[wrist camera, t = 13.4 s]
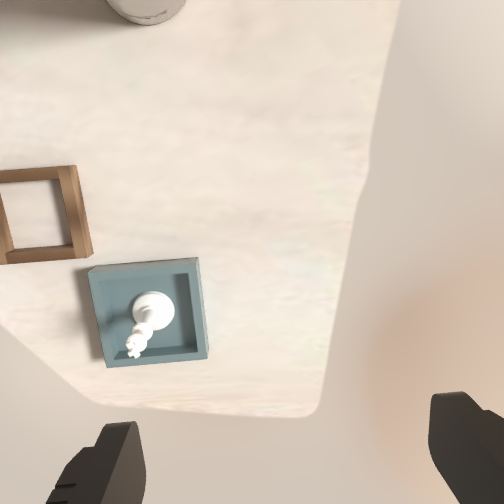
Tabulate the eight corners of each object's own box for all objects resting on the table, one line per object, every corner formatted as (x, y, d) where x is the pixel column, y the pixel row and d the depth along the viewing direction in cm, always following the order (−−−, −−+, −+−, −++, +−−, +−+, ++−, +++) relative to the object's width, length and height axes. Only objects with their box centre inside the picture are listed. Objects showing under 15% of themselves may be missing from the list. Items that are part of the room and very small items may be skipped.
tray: (95, 265, 42) (87, 272, 40) (198, 257, 43) (196, 263, 40) (113, 356, 45) (106, 368, 43) (208, 347, 46) (207, 359, 43)
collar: (-18, 172, 39) (-29, 173, 37) (76, 165, 39) (68, 165, 37) (6, 260, 42) (-4, 265, 40) (93, 253, 42) (87, 257, 40)
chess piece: (147, 335, 44) (123, 385, 35) (125, 302, 43) (93, 345, 33) (182, 316, 44) (167, 362, 34) (160, 283, 43) (138, 321, 33)
